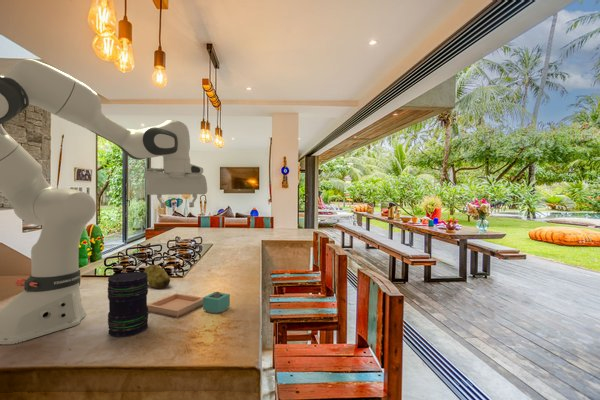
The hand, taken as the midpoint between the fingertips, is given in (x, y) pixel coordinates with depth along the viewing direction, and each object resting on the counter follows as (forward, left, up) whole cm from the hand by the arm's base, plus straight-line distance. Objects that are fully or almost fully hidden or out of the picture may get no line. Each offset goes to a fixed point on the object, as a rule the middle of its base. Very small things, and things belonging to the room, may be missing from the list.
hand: (177, 207), depth 112 cm
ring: (-2, -19, -32) cm, 37 cm away
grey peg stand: (-2, -19, -33) cm, 38 cm away
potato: (+9, +19, -33) cm, 39 cm away
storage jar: (-24, -6, -33) cm, 41 cm away
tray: (-6, -6, -33) cm, 34 cm away
